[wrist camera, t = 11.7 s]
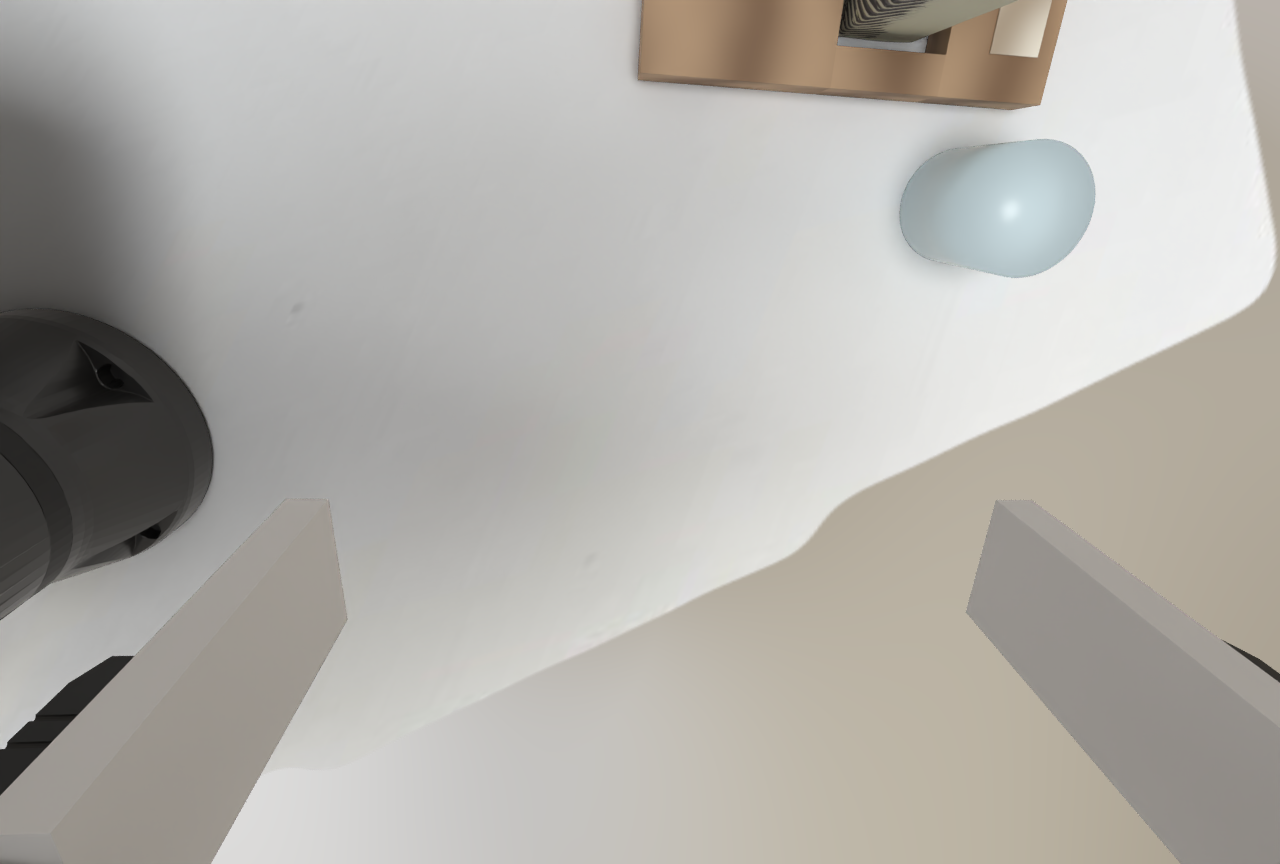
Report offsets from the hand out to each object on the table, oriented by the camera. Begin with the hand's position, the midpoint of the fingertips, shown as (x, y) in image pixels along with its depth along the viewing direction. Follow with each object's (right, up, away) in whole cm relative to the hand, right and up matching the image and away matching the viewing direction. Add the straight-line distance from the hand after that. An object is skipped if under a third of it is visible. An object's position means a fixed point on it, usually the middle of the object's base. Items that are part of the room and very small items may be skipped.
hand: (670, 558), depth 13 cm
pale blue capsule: (+17, +15, +23) cm, 32 cm away
